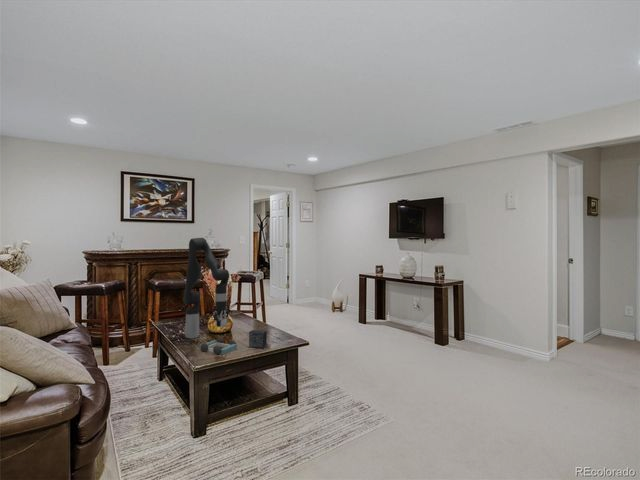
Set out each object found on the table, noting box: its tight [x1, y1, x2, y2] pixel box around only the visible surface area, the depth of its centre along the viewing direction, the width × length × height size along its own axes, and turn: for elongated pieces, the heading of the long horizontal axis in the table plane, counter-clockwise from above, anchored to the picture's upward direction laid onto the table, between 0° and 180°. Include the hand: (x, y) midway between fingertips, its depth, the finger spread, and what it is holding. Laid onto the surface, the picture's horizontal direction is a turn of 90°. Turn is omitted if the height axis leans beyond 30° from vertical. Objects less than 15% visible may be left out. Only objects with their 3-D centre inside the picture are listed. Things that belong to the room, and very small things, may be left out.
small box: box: [248, 329, 268, 350], centre depth 237 cm, size 11×6×10 cm, turn 77°
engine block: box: [214, 317, 228, 328], centre depth 232 cm, size 6×4×5 cm
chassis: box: [199, 337, 238, 356], centre depth 231 cm, size 20×16×5 cm
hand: (221, 325), depth 232 cm, fingers closed on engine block, 4 cm apart
